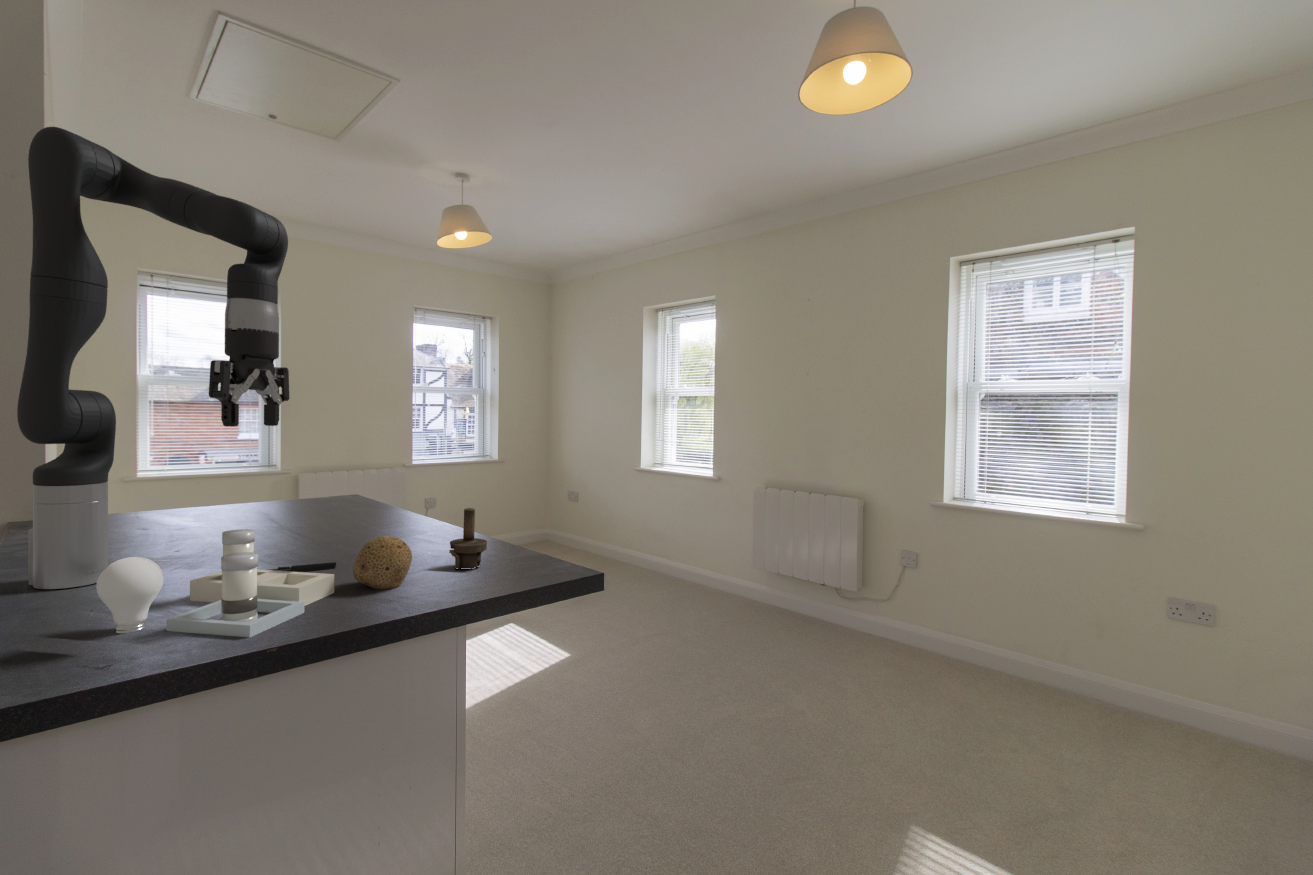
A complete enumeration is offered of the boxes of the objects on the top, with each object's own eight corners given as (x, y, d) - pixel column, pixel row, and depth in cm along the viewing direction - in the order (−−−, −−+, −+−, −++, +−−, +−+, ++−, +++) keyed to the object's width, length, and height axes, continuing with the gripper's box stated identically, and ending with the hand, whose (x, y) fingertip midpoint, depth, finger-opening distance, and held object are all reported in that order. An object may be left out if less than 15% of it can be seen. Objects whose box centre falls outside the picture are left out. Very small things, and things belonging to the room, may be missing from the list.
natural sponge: (352, 604, 95) (353, 542, 95) (352, 589, 103) (353, 532, 103) (413, 598, 99) (414, 539, 99) (408, 584, 107) (409, 529, 107)
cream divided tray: (189, 609, 90) (189, 580, 90) (233, 594, 98) (233, 567, 98) (298, 617, 88) (299, 588, 88) (334, 601, 96) (334, 574, 96)
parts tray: (166, 641, 78) (166, 619, 78) (229, 616, 88) (229, 596, 88) (249, 648, 77) (250, 625, 77) (304, 622, 87) (304, 601, 86)
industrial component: (451, 573, 115) (452, 512, 115) (444, 565, 121) (445, 507, 121) (499, 568, 120) (501, 510, 119) (490, 560, 126) (492, 504, 126)
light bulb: (124, 630, 81) (124, 551, 81) (175, 630, 82) (176, 551, 81) (81, 649, 75) (81, 563, 74) (137, 649, 75) (138, 563, 75)
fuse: (214, 597, 92) (215, 533, 92) (236, 589, 96) (237, 528, 96) (239, 599, 91) (240, 534, 91) (260, 591, 96) (261, 529, 95)
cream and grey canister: (212, 631, 80) (213, 558, 80) (238, 620, 85) (238, 551, 84) (240, 633, 80) (241, 560, 80) (264, 622, 84) (265, 553, 84)
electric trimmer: (337, 580, 110) (337, 563, 110) (234, 590, 101) (235, 572, 101) (334, 575, 113) (335, 559, 113) (235, 585, 105) (236, 567, 105)
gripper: (264, 335, 107) (263, 425, 107) (194, 322, 92) (193, 425, 93) (303, 335, 106) (302, 426, 106) (238, 322, 92) (237, 427, 92)
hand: (251, 426), depth 100 cm, fingers open, 8 cm apart
